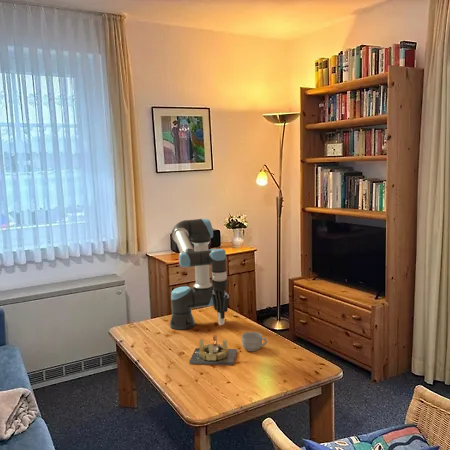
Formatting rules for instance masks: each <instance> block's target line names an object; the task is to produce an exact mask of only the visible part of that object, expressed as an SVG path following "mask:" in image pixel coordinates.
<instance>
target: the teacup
mask: <svg viewBox="0 0 450 450" xmlns="http://www.w3.org/2000/svg"><path fill="white" fill-rule="evenodd" d="M263 341H264V342H263ZM241 343H242V348H243V349H245V350H246V351H248V352H257V351H259V350H260V349H261V348H262V347H264V346H265V345H267V344H268V339H267V338H266V337H265V336H263V334H262V333H261V332H257V331H248V332H244V333H242V334H241Z"/></svg>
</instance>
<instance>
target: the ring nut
mask: <svg viewBox="0 0 450 450" xmlns="http://www.w3.org/2000/svg"><path fill="white" fill-rule="evenodd" d="M198 341H199V342H198V343H199V345H198V346H199V347H198V348H200V350H199V357H200V358H202V359H204V360H214V361H216V360H220V359H223V358H226V357H227V355H228V349H229V347H228V340H227V339H223V340H222V344H220V343H218V335H217V334H216V335H215V334H214V335H212V343H210V344H206V345H205V339H199V340H198ZM213 346H218V351H221V352H219V353H216V354H214V351H213ZM208 351H209V354H208V353H206V352H208Z"/></svg>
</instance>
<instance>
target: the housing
mask: <svg viewBox="0 0 450 450" xmlns="http://www.w3.org/2000/svg"><path fill="white" fill-rule="evenodd" d="M199 350H200V347H195V349H194V351H193V353H192V355H191V357H190V359H189V362H188V363H189V365H209V366H210V365H213V366H215V365H216V366H219V365H220V366H234V363H235V360H236V357H237V353H238V348H228V355H227V357H226V358H223V359H220V360H216V361H214V360H204V359H202V358H200V357H199ZM213 351H214V354H216V353H219V352H221V351H218V346H213ZM206 353H208V354H209V351H208V352H206Z"/></svg>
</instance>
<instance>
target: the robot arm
mask: <svg viewBox="0 0 450 450" xmlns="http://www.w3.org/2000/svg"><path fill="white" fill-rule="evenodd" d="M212 238H214V230H213V225H212V223H211V220H209V218H197V219H185V220H180V221H179V222H177V223H176V224H175V225H174V227H173V228H172V231H171V239H172V240H173V241H174V242H175V244H176V246H177V249H178V251H179V254H178V263H179V266H180V267H181V268H190V267H194V275H195V278H194V279H195V283H194V284H192V285H193V288H191V287H190V286H180V287H176V288H174V289H173V290H172V291H171V293H170V294H171V295H170V300H171V318H170V320H169V321H170V322H169V327H170V329H172V330H176V331H177V330H178V331H181V330H182V331H183V330H189V329H192V328H194V327H195V326H196V322H195V319H194V316H193V313H192V309H196V308H204V307H206V308H207V307H212V306H213V309H214V311H216V312H217V318H218V321H217V322H218V325H219V326H222V325H225V315H226V312H228V311H229V309H228V308H229V302H230V297H231V294H229V293H227V287H228V280H227V279H228V274H227V272H228V271H227V254H226V250H225V249H224V248H210V249H209V244H210V242H211V239H212ZM210 266H211V278H210ZM210 279H212V281H211V280H210ZM210 281H211V282H210Z"/></svg>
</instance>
